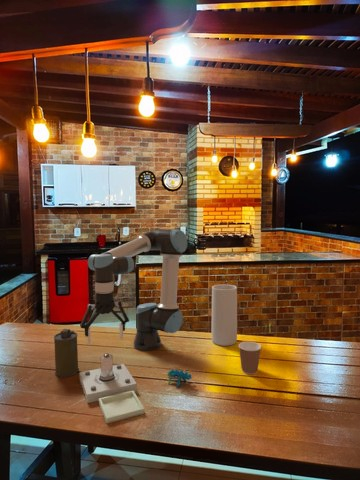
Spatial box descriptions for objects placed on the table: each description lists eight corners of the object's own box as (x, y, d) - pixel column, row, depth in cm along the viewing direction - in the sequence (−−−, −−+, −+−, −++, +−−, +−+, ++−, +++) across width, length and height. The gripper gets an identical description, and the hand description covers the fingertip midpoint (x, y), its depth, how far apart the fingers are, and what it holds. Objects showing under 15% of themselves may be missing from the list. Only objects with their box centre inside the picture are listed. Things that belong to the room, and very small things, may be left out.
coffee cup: (262, 368, 161) (263, 343, 160) (258, 377, 152) (258, 351, 151) (241, 364, 165) (241, 340, 164) (235, 373, 156) (235, 348, 155)
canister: (71, 378, 153) (69, 334, 151) (50, 375, 155) (48, 333, 153) (83, 367, 164) (81, 326, 162) (63, 365, 166) (61, 325, 164)
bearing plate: (123, 370, 159) (123, 362, 159) (136, 391, 141) (136, 381, 141) (79, 380, 151) (79, 370, 151) (87, 403, 133) (87, 392, 132)
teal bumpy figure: (195, 377, 149) (186, 368, 143) (192, 391, 146) (183, 383, 139) (173, 375, 154) (163, 367, 147) (170, 389, 150) (160, 381, 144)
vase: (238, 346, 186) (239, 289, 183) (212, 346, 187) (212, 290, 184) (234, 336, 201) (235, 284, 198) (210, 336, 201) (210, 284, 198)
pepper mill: (112, 381, 150) (111, 350, 149) (115, 387, 145) (115, 356, 143) (98, 383, 148) (97, 353, 146) (101, 390, 142) (100, 358, 141)
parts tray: (133, 395, 139) (133, 390, 138) (144, 413, 126) (144, 408, 126) (98, 403, 133) (98, 398, 133) (106, 423, 120) (106, 418, 120)
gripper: (130, 286, 151) (131, 333, 153) (72, 292, 141) (73, 342, 142) (135, 290, 144) (136, 339, 146) (74, 296, 134) (76, 349, 135)
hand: (105, 341), depth 144 cm, fingers open, 13 cm apart
